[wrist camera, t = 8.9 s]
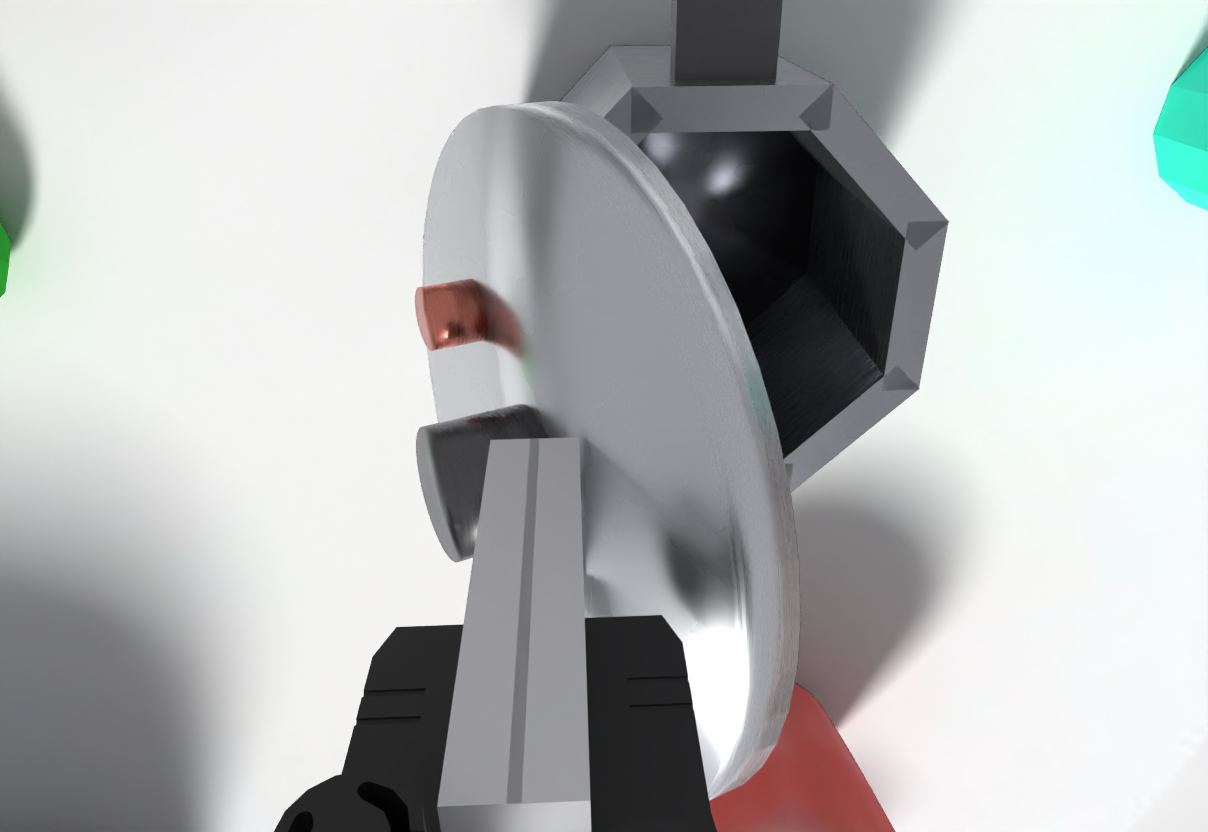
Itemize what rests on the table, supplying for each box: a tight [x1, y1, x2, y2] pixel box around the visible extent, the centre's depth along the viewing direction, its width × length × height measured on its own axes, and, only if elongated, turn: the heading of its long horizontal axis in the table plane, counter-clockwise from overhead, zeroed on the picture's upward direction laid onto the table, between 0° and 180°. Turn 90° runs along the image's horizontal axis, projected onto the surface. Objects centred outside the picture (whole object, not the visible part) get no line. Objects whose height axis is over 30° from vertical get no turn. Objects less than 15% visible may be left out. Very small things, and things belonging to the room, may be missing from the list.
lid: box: [415, 101, 801, 801], centre depth 16 cm, size 13×12×3 cm
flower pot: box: [709, 683, 895, 832], centre depth 38 cm, size 11×11×10 cm
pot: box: [560, 0, 949, 493], centre depth 27 cm, size 11×15×9 cm
